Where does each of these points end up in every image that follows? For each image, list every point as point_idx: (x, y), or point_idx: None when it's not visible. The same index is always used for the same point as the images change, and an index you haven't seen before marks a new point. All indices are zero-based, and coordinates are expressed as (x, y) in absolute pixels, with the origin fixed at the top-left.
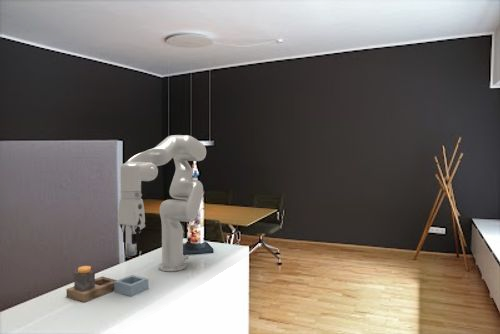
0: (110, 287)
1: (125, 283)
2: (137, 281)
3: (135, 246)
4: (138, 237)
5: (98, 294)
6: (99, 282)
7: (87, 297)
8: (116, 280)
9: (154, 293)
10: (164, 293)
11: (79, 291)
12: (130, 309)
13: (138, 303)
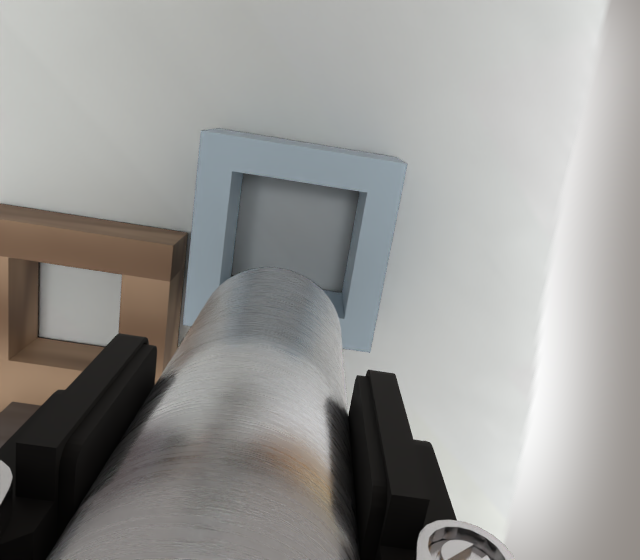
0: (172, 323)
1: None
2: (357, 255)
3: (345, 387)
4: (441, 492)
5: None
6: (20, 280)
7: None
8: (143, 247)
9: (481, 207)
10: (552, 179)
11: None
12: (473, 461)
13: (469, 382)
